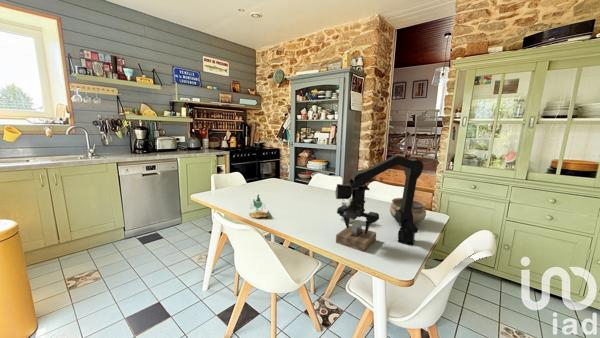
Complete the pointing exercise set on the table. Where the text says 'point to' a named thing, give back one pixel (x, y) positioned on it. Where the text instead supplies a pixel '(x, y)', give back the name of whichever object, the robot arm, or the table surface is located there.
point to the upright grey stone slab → (356, 229)
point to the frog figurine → (258, 214)
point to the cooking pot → (417, 209)
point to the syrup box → (347, 203)
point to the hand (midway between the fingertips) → (356, 230)
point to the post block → (356, 239)
